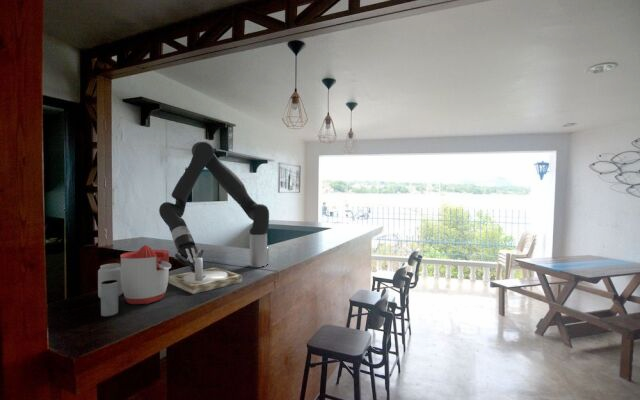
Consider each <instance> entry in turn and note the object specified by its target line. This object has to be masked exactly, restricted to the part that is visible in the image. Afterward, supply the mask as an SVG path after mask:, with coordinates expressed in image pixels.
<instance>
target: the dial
mask: <svg viewBox="0 0 640 400" xmlns="http://www.w3.org/2000/svg"><path fill="white" fill-rule="evenodd" d="M203 259H204V258H203V257H201V258H198V257H196V258H195V273H190V274H187V275H185V276H184V277H183V280H185V281H188V282H190V283H192V284H200V283H205V282H209V281H214V280H218V279H223V278H227V273H226V272H223V271H203V270H204V269H203V268H204V266H203V265H204V261H203Z"/></svg>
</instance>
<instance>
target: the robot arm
mask: <svg viewBox="0 0 640 400" xmlns="http://www.w3.org/2000/svg"><path fill="white" fill-rule="evenodd" d="M191 154H192V158H191V159H190V160H191V161H190V162H189V165H188V166H187V168H186V169H185V171H184V172H183V173H182V175H181V176H180V178H179V179H178V181H177V182H176V185H175V187H174V188H173V190H172V193H171V198H174V200H175V203H173V202H169V201H165V202H163V203H161V204H160V206H159V210H158V211H159V216H160V217H161V219H162V220H163V221H164V223H165V224H166V226H167V227H168V228H169V232H170V234H171V238H172V241H173V244H174V245H175V249H176V251H177V253H175V254H174V256H173V259H174V260H175V261H177V262H178V263H180V264H182V265H183V266H189V268H190V270H191V271H190V272H193V273H195V258H203V254H204V252H205V250H203V249H201V250H200V249H198V247H197V245H196V242H195V240H194V238H193V235H192V233H191V231H190V229H189V228H188V226H187V224H186V221H185V220H184V218H182V217H183V216H184V213H185V211H186V206H187V205H186V204H187V201H188V198H189V196H190V194H191V192H192V190H193V189H194V186H195V184H196V182H197V180H198V178H199V177H200V175H201V173H202V172H203V171H204V169H205V168H206V169H207V170H208V172H209V173H211V175H212V176H213V178H214V179H215V181H217V183H218V184H219V186H221V188H222V189H224V191H225V192H226V193H227V194H228V195H229V196H230V197H231V198H232V199H233V200H234V201H235V202H236V203H237V204H238V205H239V206H240V208H241V209H242V210H243V212H245V214H246V216H247V217H248V218H249V219H250V220H252V221H253V222H252V227H251V228H249V267H250V268H263V267H262V266H264V267H267V266H268V265H267V264H269V263H270V262H269V258H270V257H269V256H270V254H269V253H270V252H269V250H270V249H269V247H268V231H269V226H270V211H269V208H268V207H267V205H265V204H263V203H262V204H261V203H257V202H256V201H254V200H253V199H252V197H251V196H250V195H249V193H248V192H247V188H246V186H245V184H244V183H243V181H242V180H241V179H240V177H238V176H237V174H235V172H233V170H231V169H230V167H228V166H226V165H225V164H224V163H223V162H222V161H221V160H220V159H219V158H218V157H217V156H216V154H215V148H214V147H213V145H212V144H211V143H209V142H207V141H197V142H196V143H194V144H193V145H192V147H191ZM266 265H267V266H266ZM269 265H270V264H269Z"/></svg>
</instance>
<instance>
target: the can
mask: <svg viewBox="0 0 640 400" xmlns="http://www.w3.org/2000/svg"><path fill="white" fill-rule="evenodd" d="M99 267H100V268H99V269H98V270H97V294H98V295H97V296H98V298H99V299H101V282H103V281H107V280H118V298H119V297H120V296H121V295H122V294H124V293H123V290H122V286H121V263H115V262H114V263H107V264H102V265H100V266H99Z"/></svg>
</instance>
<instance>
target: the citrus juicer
mask: <svg viewBox="0 0 640 400" xmlns="http://www.w3.org/2000/svg"><path fill="white" fill-rule="evenodd" d="M169 256H170V251H169V250H166V249H152V247H150V246H149V245H147V244H144V245H142V246H141V248H139V249H138V250H134V251H128V252H123V253H122V254H120V255H119V257H120V266H121V286H122V290H123V293H122V294H123V295H124V299H125V300H126V303H127V304H130V305H149V304H150V303H154V302H157V301H160V300H162V299H164V297H165V295H166V292H167V287H168V284H169V276H170V275H169V272H170V271H169V270H170V269H171V268H172V264H171V263H170V261H169V260H170V257H169Z"/></svg>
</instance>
